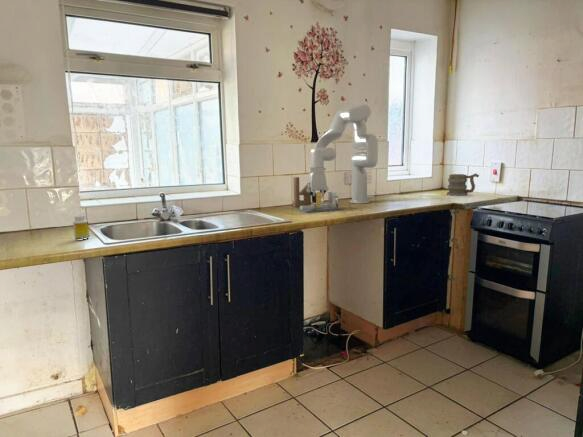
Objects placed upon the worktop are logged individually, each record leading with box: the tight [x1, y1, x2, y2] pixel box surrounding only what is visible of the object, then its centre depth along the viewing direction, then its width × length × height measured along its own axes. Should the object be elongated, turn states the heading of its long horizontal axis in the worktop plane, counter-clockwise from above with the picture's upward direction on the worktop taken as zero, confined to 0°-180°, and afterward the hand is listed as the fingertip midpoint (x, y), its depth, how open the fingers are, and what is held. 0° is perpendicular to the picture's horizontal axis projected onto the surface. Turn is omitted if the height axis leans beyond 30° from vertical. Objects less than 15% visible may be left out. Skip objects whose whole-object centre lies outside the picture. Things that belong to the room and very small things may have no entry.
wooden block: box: [292, 176, 312, 208], centre depth 267 cm, size 4×11×18 cm, turn 113°
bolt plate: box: [296, 205, 342, 214], centre depth 252 cm, size 22×13×1 cm, turn 114°
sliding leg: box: [312, 191, 325, 208], centre depth 250 cm, size 4×9×8 cm, turn 24°
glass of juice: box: [72, 214, 90, 240], centre depth 186 cm, size 6×6×10 cm
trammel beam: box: [299, 191, 340, 209], centre depth 250 cm, size 21×9×8 cm, turn 114°
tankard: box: [446, 173, 480, 197], centre depth 301 cm, size 20×13×15 cm, turn 55°
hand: (317, 202), depth 252 cm, fingers closed on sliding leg, 4 cm apart
